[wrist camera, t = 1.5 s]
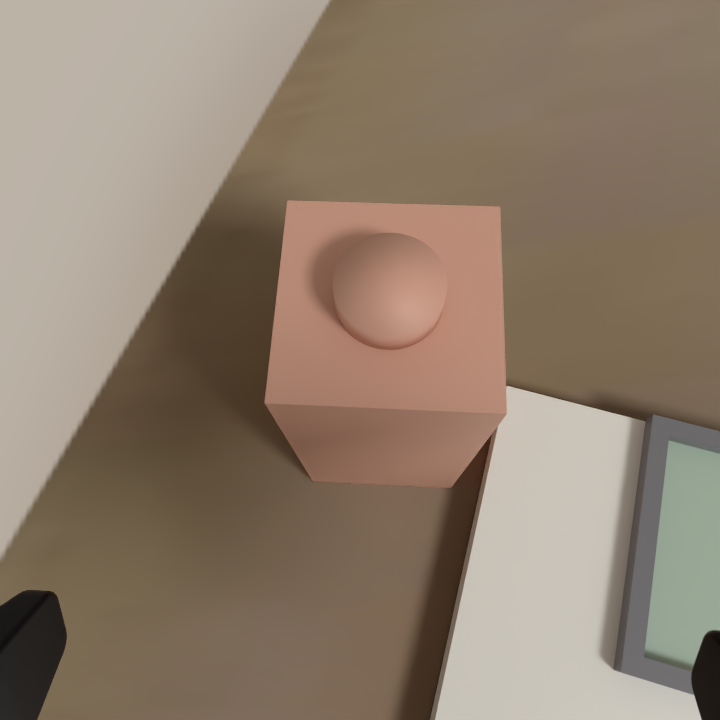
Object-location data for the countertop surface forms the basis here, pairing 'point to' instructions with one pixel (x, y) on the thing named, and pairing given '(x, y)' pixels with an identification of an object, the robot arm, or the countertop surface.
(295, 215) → the pillar
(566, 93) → the countertop surface
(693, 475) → the build board
